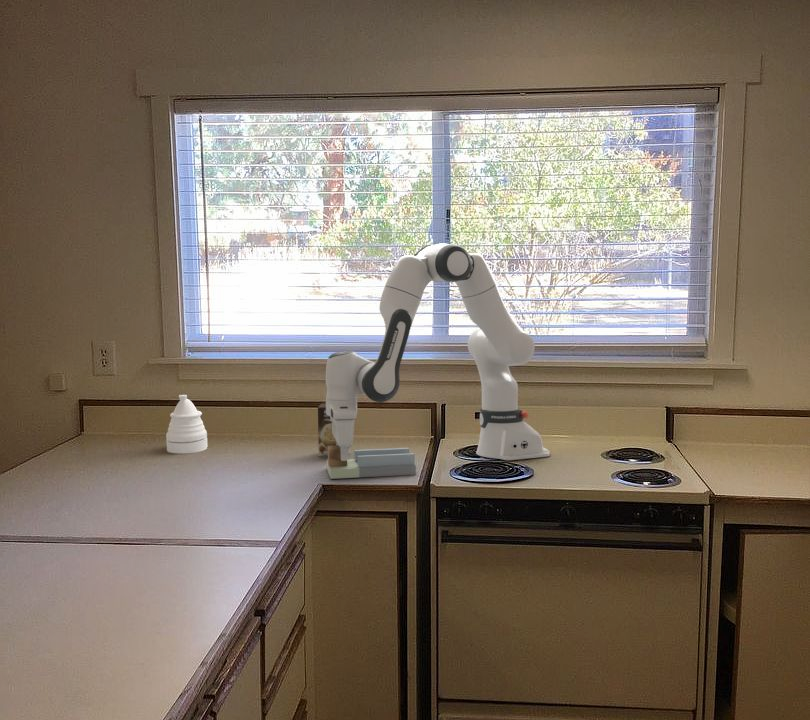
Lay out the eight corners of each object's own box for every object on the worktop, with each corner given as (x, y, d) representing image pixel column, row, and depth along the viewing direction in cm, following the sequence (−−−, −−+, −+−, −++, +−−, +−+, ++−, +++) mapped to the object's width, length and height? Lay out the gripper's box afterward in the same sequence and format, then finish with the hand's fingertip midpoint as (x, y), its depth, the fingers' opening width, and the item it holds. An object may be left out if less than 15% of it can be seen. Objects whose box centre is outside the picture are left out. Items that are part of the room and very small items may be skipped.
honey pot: (201, 453, 251) (198, 397, 248) (161, 453, 251) (158, 398, 248) (212, 443, 263) (209, 390, 261) (173, 444, 264) (170, 391, 261)
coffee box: (317, 458, 244) (316, 407, 241) (321, 453, 250) (320, 403, 248) (347, 458, 243) (345, 407, 240) (350, 453, 249) (349, 403, 247)
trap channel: (407, 465, 233) (407, 446, 233) (415, 474, 222) (415, 455, 221) (326, 468, 229) (326, 450, 228) (330, 478, 217) (330, 459, 217)
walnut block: (345, 462, 226) (344, 445, 226) (347, 466, 221) (347, 448, 221) (327, 462, 225) (327, 445, 225) (329, 466, 220) (329, 449, 220)
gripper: (326, 403, 231) (327, 449, 233) (334, 414, 211) (334, 465, 213) (348, 402, 233) (348, 448, 234) (357, 413, 213) (357, 464, 214)
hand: (341, 456), depth 223 cm, fingers open, 8 cm apart
